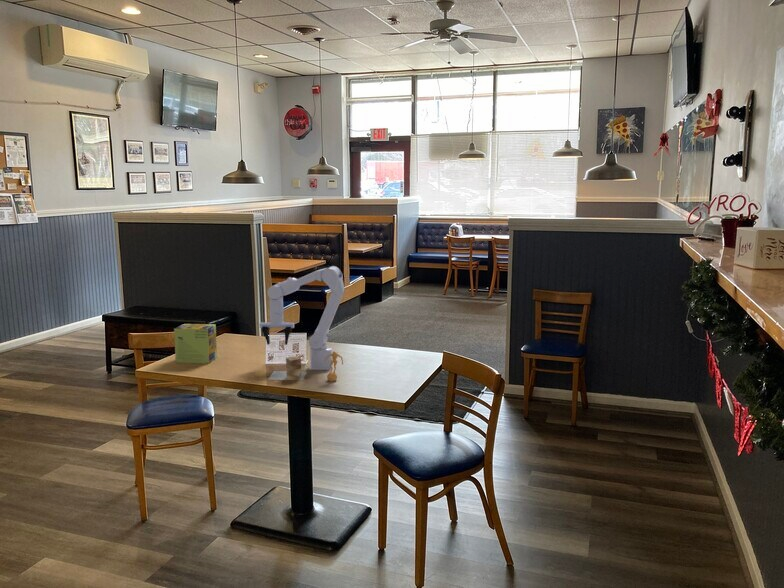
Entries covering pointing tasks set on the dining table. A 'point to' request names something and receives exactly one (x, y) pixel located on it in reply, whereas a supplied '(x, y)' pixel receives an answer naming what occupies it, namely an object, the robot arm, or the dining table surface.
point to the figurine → (332, 375)
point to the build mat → (284, 375)
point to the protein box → (195, 343)
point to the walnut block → (293, 363)
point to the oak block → (293, 374)
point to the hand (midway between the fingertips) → (277, 344)
